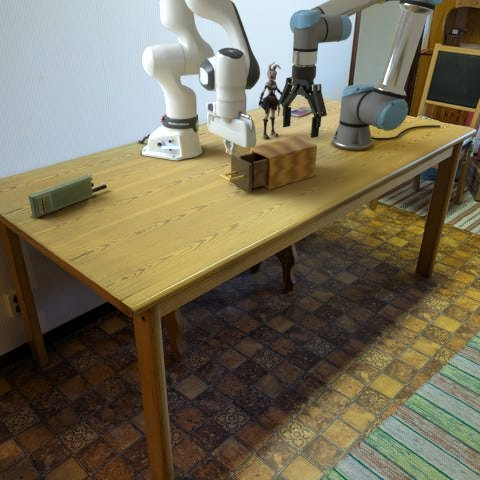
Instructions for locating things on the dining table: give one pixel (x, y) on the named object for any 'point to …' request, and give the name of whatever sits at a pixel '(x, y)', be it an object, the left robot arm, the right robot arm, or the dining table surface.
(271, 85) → the figurine
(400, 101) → the right robot arm
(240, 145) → the left robot arm
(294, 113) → the smartphone
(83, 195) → the handheld radio
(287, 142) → the cabinet
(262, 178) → the drawer
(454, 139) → the dining table surface
